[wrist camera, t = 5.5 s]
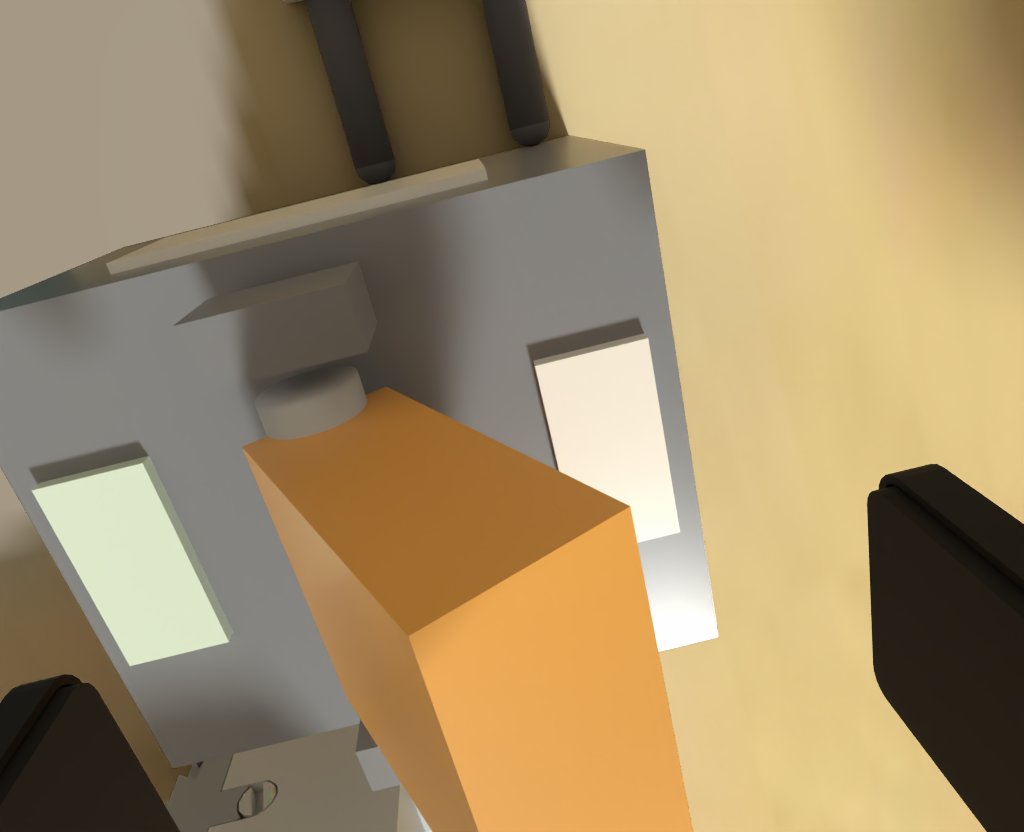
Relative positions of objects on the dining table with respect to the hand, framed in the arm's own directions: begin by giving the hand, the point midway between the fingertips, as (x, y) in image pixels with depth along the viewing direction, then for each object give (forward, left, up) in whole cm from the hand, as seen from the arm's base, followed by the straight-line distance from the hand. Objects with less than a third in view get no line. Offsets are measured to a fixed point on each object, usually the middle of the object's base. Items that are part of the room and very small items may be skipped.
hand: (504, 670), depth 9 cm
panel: (+2, 0, -13) cm, 13 cm away
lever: (+2, 0, -4) cm, 4 cm away
